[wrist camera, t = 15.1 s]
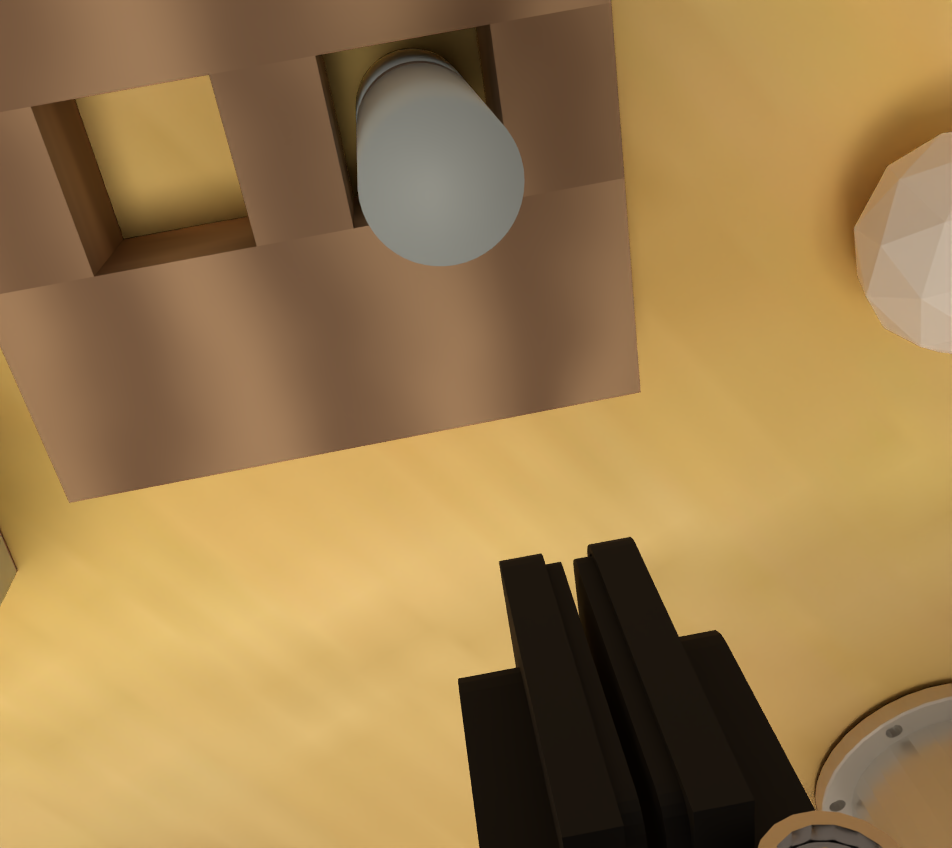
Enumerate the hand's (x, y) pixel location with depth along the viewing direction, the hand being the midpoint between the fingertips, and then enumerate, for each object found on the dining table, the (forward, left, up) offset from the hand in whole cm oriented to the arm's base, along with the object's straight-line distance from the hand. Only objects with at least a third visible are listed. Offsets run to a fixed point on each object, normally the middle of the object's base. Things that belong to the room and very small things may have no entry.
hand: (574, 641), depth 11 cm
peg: (0, -3, -23) cm, 23 cm away
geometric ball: (-18, +4, -23) cm, 30 cm away
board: (+4, -3, -23) cm, 24 cm away
